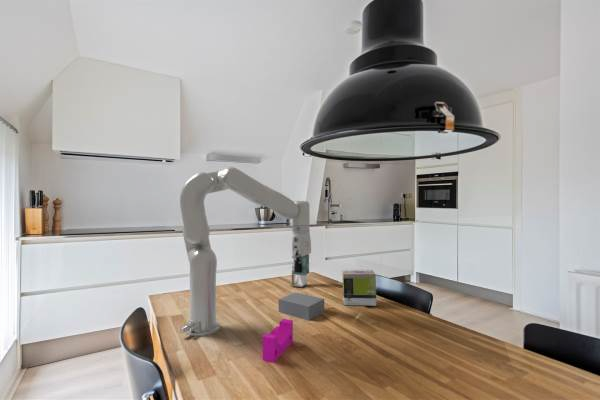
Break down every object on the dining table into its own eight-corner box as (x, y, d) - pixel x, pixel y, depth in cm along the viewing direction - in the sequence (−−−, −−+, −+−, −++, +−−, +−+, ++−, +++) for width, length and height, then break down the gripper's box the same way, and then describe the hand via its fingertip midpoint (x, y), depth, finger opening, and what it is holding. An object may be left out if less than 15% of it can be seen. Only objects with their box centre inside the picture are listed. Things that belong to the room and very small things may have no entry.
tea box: (373, 299, 151) (373, 269, 151) (376, 306, 141) (376, 274, 141) (342, 298, 152) (342, 268, 152) (343, 305, 142) (343, 273, 142)
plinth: (308, 321, 125) (308, 306, 125) (278, 312, 135) (278, 299, 135) (324, 312, 135) (324, 298, 135) (295, 305, 144) (295, 292, 144)
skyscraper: (297, 282, 184) (297, 235, 183) (309, 283, 180) (309, 235, 180) (290, 285, 176) (290, 236, 176) (303, 287, 173) (303, 237, 172)
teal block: (304, 275, 131) (304, 256, 131) (293, 274, 134) (293, 256, 133) (309, 273, 136) (309, 254, 136) (299, 271, 138) (299, 254, 138)
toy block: (276, 338, 110) (276, 317, 110) (292, 341, 107) (292, 320, 107) (255, 359, 96) (255, 335, 96) (273, 363, 94) (273, 338, 93)
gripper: (299, 231, 125) (300, 276, 125) (316, 227, 140) (317, 267, 141) (283, 230, 129) (284, 274, 129) (302, 227, 144) (302, 266, 144)
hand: (301, 270), depth 135 cm, fingers closed on teal block, 5 cm apart
